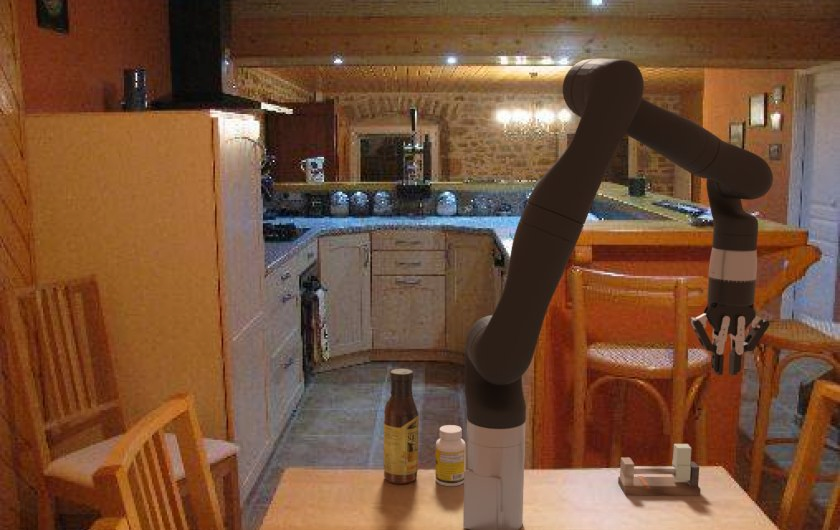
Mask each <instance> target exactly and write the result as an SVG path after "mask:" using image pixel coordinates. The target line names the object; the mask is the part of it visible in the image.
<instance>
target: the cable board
mask: <svg viewBox="0 0 840 530" xmlns="http://www.w3.org/2000/svg"><path fill="white" fill-rule="evenodd" d="M690 466H691V471H690V481H686V480H675V478H674V477H673V476H642V475H672V474H676V467H672V466H669V465H668V466H663V465H662V466H659V465H658V466H652V465H651V466H650V465H649V466H648V465H647V466H644V465H643V466H641V465H639V466H638V465H636V466H635V463H634V461H633V460H632V458H631V457H620V467H619V468H620V469H619V476H618V478H617V484H618V485H619V487H620V488H621V490H622V492H623V494H624V495H625V496H701V488H700V486H699V479H700V466H699V465H698V463H696V462H695V461H690ZM635 475H638V476H635ZM639 475H641V476H639Z"/></svg>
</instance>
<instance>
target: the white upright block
mask: <svg viewBox="0 0 840 530" xmlns="http://www.w3.org/2000/svg"><path fill="white" fill-rule="evenodd" d="M672 454H673V455H672V461H671V462H672V463H671V464H672V465H671V467H676V474H671V477H674V478H675V480H686V481H690V471H691V466H690V462H692V458H691V457H692V447H691V446H690V444H689V443H673V453H672Z"/></svg>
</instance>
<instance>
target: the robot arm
mask: <svg viewBox="0 0 840 530" xmlns="http://www.w3.org/2000/svg"><path fill="white" fill-rule="evenodd" d="M644 81H645V80H644V77H643V74H642V72H641V69H640V68H639V67H638V66H637V65H636V64H635V63H634V62H632V61H630V60H627V59H621V58H597V57H596V58H595V57H594V58H593V57H592V58H589V59H583V60H581V61H579V62H577V63H575V64H574V65H572V66H571V67H570V69H569V70H568V71H567V73H566V74H565V76H564V78H563V83H562V97H563V99H564V102H565V104H566V106H567V108H568V109H569V110H570V111H571V112H572V113H573V114H575V115H576V116H577V117H580V119H579V122H578V125H577V127H576V129H575V133H574V135H573V136H572V139H571V141H570V142H569V144H568V146H567V148H566V149H565V150H564V152H563V153H562V155H560V157H559V158H558V159H557V161H555V162H554V164H553V165H552V166H551V167H550V168H549V169H548V170H547V171H546V173H545V174H544V175H543V176H542V177H541V179H539V181H537V183H536V185H535V186H534V188H533V189H532V191H531V193H530V195H529V197H528V199H527V201H526V204H525V205H524V206H525V207H524V209H523V211H522V213H521V216H520V219H519V220H518V223H517V226H516V229H515V232H514V236H513V240H512V245H511V250H510V255H509V262H508V269H507V275H506V280H505V285H504V287H503V291H502V293H501V296H500V298H499V301H498V303H497V305H496V307H495V309H494V312H493V313H492V314H491V315H487V316H484V317H483V316H482V317H481V318H479V319H478V320H477V321H476V322H474V323H473V325H472V326H471V327H470V328H469V329H468V332H467V335H466V339H465V344H464V396H465V403H466V441H465V444H466V471H465V472H464V483H463V513H462V514H463V515H462V516H463V517H462V518H463V524H462V525H463V526H462V528H464V529H466V530H520V529H521V528H522V526H523V521H524V520H523V519H524V518H523V515H524V490H525V489H524V482H525V481H524V479H525V452H526V451H525V450H526V419H527V418H526V417H527V416H526V415H527V414H526V413H527V407H526V406H527V405H526V404H527V403H526V400H525V397H524V391H523V378H522V377H523V375H524V374H525V373H526V372H527V370H528V369H529V367H530V366H531V364H532V361H533V358H534V355H535V351H536V348H537V345H538V341H539V337H540V334H541V330H542V328H543V324H544V320H545V317H546V314H547V311H548V309H549V306H550V303H551V301H552V298H553V296H554V294H555V292H556V291H557V288H558V287H559V284H560V281H561V280H562V278H563V275H564V272H565V269H566V268H567V265H568V262H569V261H570V258H571V256H572V254H573V252H574V249H575V248H576V245H577V243H578V240H579V239H580V236H581V234H582V231H583V229H584V226H585V224H586V221H587V219H588V216H589V213H590V210H591V208H592V206H593V202H594V200H595V198H596V195H597V194H598V191H599V189H600V187H601V185H602V182H603V180H604V178H605V176H606V173H607V171H608V168H609V167H610V163H611V162H612V160H613V158H614V155H615V154H616V151H617V150H618V148H619V146H620V144H621V142H622V140H623V139H624V137H625V135H626V136H627V137H630V138H632V139H634V140H636V141H637V142H639V143H641V144H642V145H644V146H645V147H647V148H649V149H651V150H652V151H654V152H655V153H657V154H658V155H660V156H662V157H664V158H665V159H666V160H668V161H669V162H672V163H673V164H674V165H676V166H678V167H679V168H681V169H683V170H685V171H686V172H687V173H689V174H691V175H693V176H695V177H697V178H701V179H705V180H706V193H707V197H708V203H709V209H710V212H711V218H712V221H713V232H712V244H711V245H712V246H711V253H710V258H709V268H708V282H707V283H708V284H707V286H708V287H707V299H706V300H707V304H706V307H705V308H704V310H703V313H702V314H700V315H698V316H696V317H694V316H691V317H690V318H689V324H690V326H691V328H692V330H693V331H694V334H695V335H696V337H697V340H698V341H699V344H700V345H701V347H702V348H704V350H706V351H708V352H711V366H710V367H711V370H712V371H713V372H714V374H715V375H716V376H723V375H724V364H725V363H724V360H725V355H724V354H723V353H724V350H725V343H726V342H727V339H728V335H729V337H730V349H731V351H730V352H729V356H728V357H729V358H728V368H727V369H728V370H727V371H728V374H729V375H731V376H732V377H733V376H734V377H735V376H738V373H740V372H741V369H742V356H743V354H744V353H746V352H753V351H754V349H756V346H758V344H759V342H760V340H761V339H762V337H763V336H764V334H765V333H766V332H767V330H768V328H769V327H770V323H771V322H770V321H768V320H767V319H765V318H763V317H760V316H758V315H757V312H756V310H755V306H754V305H755V302H756V301H755V299H756V288H757V287H756V286H757V271H758V254H757V252H758V251H757V250H758V238H759V237H758V235H759V220H758V218H756V216H754V215H753V214H750V213H749V212H746V211H745V210H744V207H743V204H742V200H747V201H749V200H750V201H751V200H752V201H753V200H757V199H760V198H762V197H764V196H765V195H766V194H767V193H769V191H770V190H771V188H772V186H773V182H774V176H773V174H774V173H773V171H772V169H771V166H770V165H769V163H768V162H767V161H766V159H764V158H762V157H761V156H760V155H758V154H756V153H754V152H752V151H749V150H747V149H744V148H742V147H740V146H737V145H735V144H732V143H729V142H727V141H724V140H723V139H721V138H720V137H718V136H717V135H715V134H714V133H712V132H711V131H710V130H708V129H706V128H705V127H703V126H701V125H700V124H698V123H696V122H695V121H693V120H691V119H689V118H687V117H686V116H682V115H680V114H678V113H676V112H673V111H671V110H668V109H666V108H664V107H662V106H659V105H656V104H655V103H653V102H652V101H649V100H647V99H646V98H644V97H643V96H644V88H645V86H644V85H645V84H644V83H645V82H644ZM707 322H708V323H709V325H710V326H711V329H712V333H711V338H712V341H711V340H710V337H709V335H708V334H707V331H706V330H705V328H707ZM750 325H751V328H750V330H749V331H748V333H747V335H745V331H746V330H747V329H748V327H749V326H750ZM745 336H746V337H745Z"/></svg>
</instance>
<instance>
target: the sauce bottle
mask: <svg viewBox="0 0 840 530" xmlns="http://www.w3.org/2000/svg"><path fill="white" fill-rule="evenodd" d="M389 378H390V387H391V388H390V397H389V399H388V400H387V402H386V403H385V406H384V411H383V412H384V421H383V476H384V479H385V480H386V481H387V482H389V483H392V484H398V485H400V484H401V485H404V484H408V483H413V482H414V481H416V479H417V477H418V471H419V430H420V429H419V424H420V423H419V421H420V419H419V418H420V417H419V415H420V414H419V411H418V408H417V405H416V403H415V400H414V396H413V379H414V373H413V370H411V369H407V368H394V369H392V370H391V371H390V377H389Z"/></svg>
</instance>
